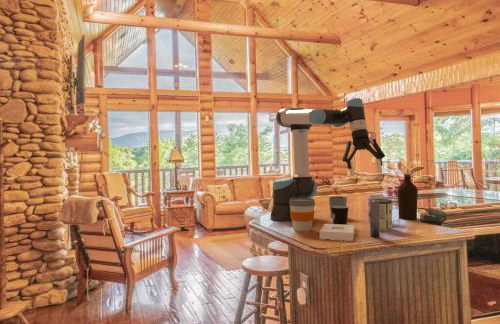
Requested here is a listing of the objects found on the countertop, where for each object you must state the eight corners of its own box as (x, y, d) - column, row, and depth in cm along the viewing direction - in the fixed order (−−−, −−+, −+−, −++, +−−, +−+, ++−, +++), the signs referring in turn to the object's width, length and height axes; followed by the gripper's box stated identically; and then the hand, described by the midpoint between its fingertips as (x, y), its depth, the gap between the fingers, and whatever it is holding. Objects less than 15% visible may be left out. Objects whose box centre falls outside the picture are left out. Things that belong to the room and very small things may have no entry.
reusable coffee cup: (318, 228, 188) (317, 198, 188) (311, 233, 177) (311, 201, 177) (294, 226, 194) (293, 197, 193) (286, 231, 182) (285, 200, 182)
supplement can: (367, 222, 201) (367, 194, 200) (369, 220, 208) (368, 193, 208) (384, 223, 198) (383, 195, 197) (384, 220, 205) (384, 193, 205)
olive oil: (405, 220, 206) (404, 174, 205) (393, 217, 216) (393, 174, 215) (422, 219, 208) (421, 174, 207) (410, 216, 218) (409, 173, 218)
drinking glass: (328, 218, 215) (328, 197, 214) (330, 216, 224) (329, 196, 224) (346, 219, 212) (346, 198, 211) (347, 216, 221) (347, 196, 221)
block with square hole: (324, 231, 181) (324, 223, 181) (354, 232, 177) (354, 225, 176) (319, 239, 164) (319, 231, 164) (352, 240, 159) (352, 232, 159)
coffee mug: (349, 228, 187) (349, 208, 187) (331, 227, 188) (331, 208, 188) (347, 223, 198) (347, 205, 198) (331, 223, 200) (331, 204, 200)
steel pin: (370, 235, 170) (369, 200, 169) (379, 235, 168) (379, 200, 168) (370, 237, 166) (369, 201, 165) (379, 237, 165) (379, 201, 164)
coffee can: (370, 226, 191) (370, 198, 190) (392, 227, 187) (391, 199, 187) (369, 230, 181) (369, 201, 181) (392, 231, 178) (392, 201, 177)
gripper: (336, 130, 173) (344, 175, 169) (387, 126, 177) (395, 170, 173) (331, 134, 180) (338, 178, 177) (380, 130, 184) (387, 173, 180)
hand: (366, 174), depth 175 cm, fingers open, 13 cm apart
